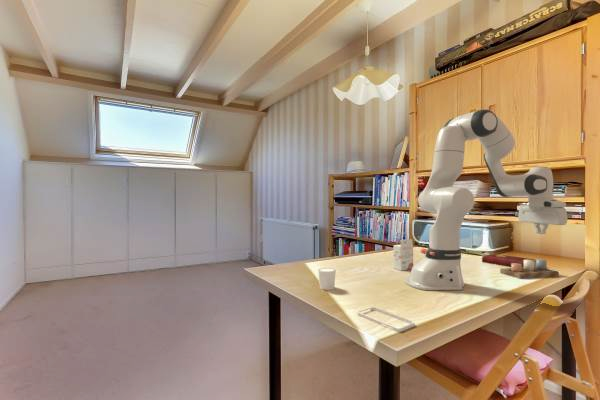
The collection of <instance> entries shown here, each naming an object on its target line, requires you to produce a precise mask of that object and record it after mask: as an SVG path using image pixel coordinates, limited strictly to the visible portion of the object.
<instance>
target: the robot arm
mask: <svg viewBox="0 0 600 400" xmlns="http://www.w3.org/2000/svg"><path fill="white" fill-rule="evenodd" d="M477 139H478V141H479V143H480V144H481V146H482V148H483V149H484V153H483V159H484V162H485V165H486V168H487V170H488V172H489V175H490V176H491V179H492V180H493V184H494V189H495V191H496V192H497V194H498V195H499V196H501V197H503V198H512V197H528V202H522V203H520V205H519V210H518V221H519V222H520V223H529V224H533V227H534V228H535V231H536V234H540V235H541V234H542V235H545V234H546V232H547V231H546V230H547V229H548V228H549V225H553V226H554V225H555V226H565V225H566V224H568V211H567V209H566V207H567V203H566V202H565V201H562V200H559V199H556V198H554V194H553V189H554V177H553V172H552V169H551V168H549V167H548V166H533V167H531V168H530V169H529V171H528V172H526V173H524V174H522V173H521V174H516V175H515V174H514V175H511V174H508V173H506V171H505V168H504V166H503V163H502V161H501V160H503V159H504V158H506V157H507V156H509V155H510V154H511V153H512V152H513V150H514V148H515V146H516V140H515V137H514V135H513V134H512V133H511V131H510V129H509V128H508V127H507V125H506V124H505V123H504V122H503V121H502V119H501V118H499V116H497V115H496V114H495V113H494V112H493V111H492V110H489V109H478V110H476V111H472V112H468V113H464V114H461V115H459V116H456V117H453V118H451V119H448V121H447V122H446V123H445V124H444V125H443V127H442V128H441V129H440V130H439V131H438V134H437V136H436V141H435V145H434V152H433V159H432V161H433V162H432V167H431V168H432V169H431V172H430V177H429V179H428V181H427V184H426V186H425V188H424V189H423V190H422V191H421V192H420V193H419V195H418V198H417V200H418V201H417V203H418V206H419V208H420V209H422V211H425V212H427V213H429V214H436V218H435V221H434V223H433V224H432V225H431V226H430V228H429V230H428V231H429V233H428V234H429V236H428V237H429V239H428V240H429V241H428V242H429V246H428V248H426V249H425V248H423V247H422V248H421V254H423V255H425V257H423V258H422V259H421V260H420V261H418V262H417V263H416V264H415V265H413V267H412V269H410V270H411V271H410V277H406V278H405V279H404V283H406V284H407V285H408V286H410V287H413V288H414V289H418V290H423V291H462V290H463V287H465V285H466V284H465V282H464V279H463V274H462V266H461V259H462V250H461V248H460V247H461V244H460V243H461V242H460V241H461V235H460V234H461V228H462V224H463V221H464V219H465V217H466V215H467V214H468V213H469V212H470V211H471V210H472V209H473V207H474V205H475V197H474V194H473V192H472V191H470V190H469V189H468V188H466V187H461V186H456V185H455V183H456V180H457V179H458V178H459V177H460V176H461V175H462V173H463V172H464V171H463V170H464V169H463V168H464V160H465V159H464V157H465V147H466V145H465V144H466V141H474V140H477ZM454 185H455V186H454ZM540 226H541V227H542V228H541V227H540Z"/></svg>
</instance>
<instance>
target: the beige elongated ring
mask: <svg viewBox="0 0 600 400" xmlns="http://www.w3.org/2000/svg"><path fill="white" fill-rule="evenodd" d="M368 310H369V311H375V312H378V313H381V314H384V315H386V316H389V317H391V318H395V319H397V320H398V321H401V322H405V323H406V324H405V325H404V326H401V327H396V326H393V325H391V324H389V323H386V322H383V321H382V320H379V319H376V318H374V317H372V316H370V315H366V314H365V313H362V312H364V311H368ZM356 313H357V316H358V317H361V318H363V319H366V320H368V321H370V322H373V323H375V324H378V325H379V326H380V325H384V326H386V327H389V328H391V329H392V331H394V332H397V333H401V332H403V331H405V330H408V329H411V328H412V327H413V328H414V327H415V322H414V321H413V320H409V319H407V318H405V317H402V316H399V315H396V314H394V313H391V312H389V311H386V310H382V309H380V308H378V307H376V306H371V307H368V308H364V309H362V310H358V311H357V312H356ZM407 323H408V324H407Z"/></svg>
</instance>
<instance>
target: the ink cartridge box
mask: <svg viewBox="0 0 600 400" xmlns="http://www.w3.org/2000/svg"><path fill="white" fill-rule="evenodd" d="M399 242H400V244H393V269H394V270H397V269H398V270H397V271H401V270H402V271H406V270H412V267H413V266H414V244H413V239H412V238H408V239H407V238H406V239H400V241H399Z"/></svg>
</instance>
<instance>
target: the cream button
mask: <svg viewBox="0 0 600 400" xmlns="http://www.w3.org/2000/svg"><path fill="white" fill-rule="evenodd" d="M524 270H525V271H534V261H533V260H524Z"/></svg>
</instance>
